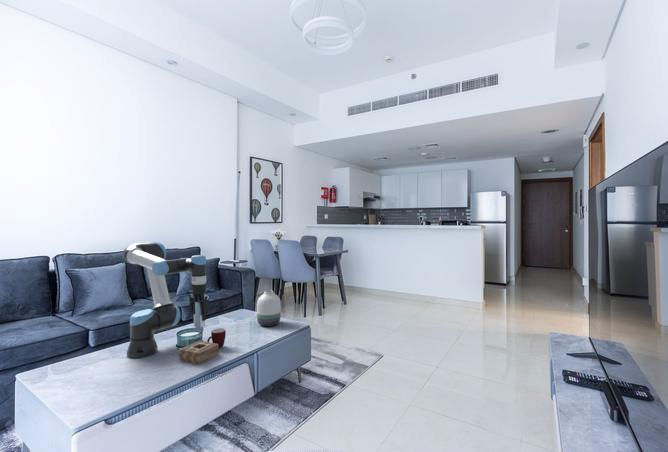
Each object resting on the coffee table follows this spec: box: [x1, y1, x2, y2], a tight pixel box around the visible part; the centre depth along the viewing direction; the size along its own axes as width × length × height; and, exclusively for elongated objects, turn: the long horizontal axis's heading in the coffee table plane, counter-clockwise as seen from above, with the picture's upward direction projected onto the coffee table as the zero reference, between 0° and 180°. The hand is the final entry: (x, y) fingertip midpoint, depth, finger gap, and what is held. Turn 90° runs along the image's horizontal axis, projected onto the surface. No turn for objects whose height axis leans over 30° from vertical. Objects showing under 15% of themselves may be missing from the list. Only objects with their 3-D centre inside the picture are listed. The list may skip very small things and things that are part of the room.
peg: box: [194, 301, 204, 333], centre depth 177 cm, size 4×4×16 cm
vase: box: [256, 290, 282, 327], centre depth 234 cm, size 17×17×24 cm
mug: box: [206, 327, 227, 349], centre depth 191 cm, size 11×8×10 cm
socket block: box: [179, 340, 220, 366], centre depth 178 cm, size 14×14×6 cm
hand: (199, 325), depth 177 cm, fingers closed on peg, 4 cm apart
